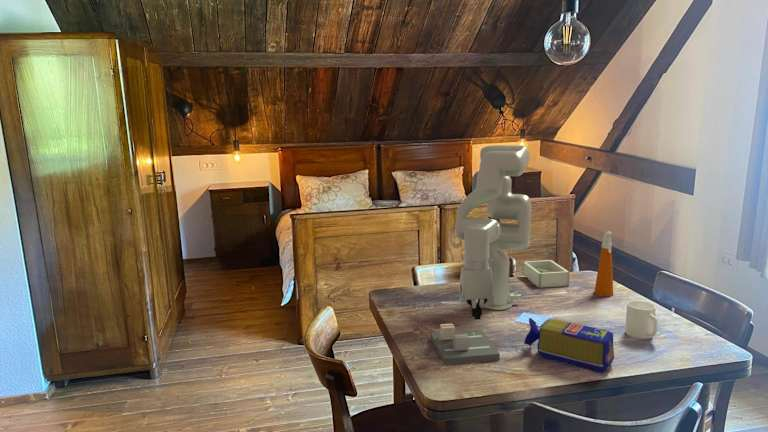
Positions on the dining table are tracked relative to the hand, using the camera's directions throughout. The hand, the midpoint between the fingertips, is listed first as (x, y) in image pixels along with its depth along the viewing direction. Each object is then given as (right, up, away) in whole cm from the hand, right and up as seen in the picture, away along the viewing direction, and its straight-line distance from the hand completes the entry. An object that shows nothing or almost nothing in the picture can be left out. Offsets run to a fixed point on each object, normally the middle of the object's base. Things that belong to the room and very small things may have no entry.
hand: (476, 317), depth 171 cm
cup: (+54, -7, +2) cm, 54 cm away
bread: (+25, -10, -11) cm, 30 cm away
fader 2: (-6, -8, -9) cm, 13 cm away
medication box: (+41, +5, +61) cm, 73 cm away
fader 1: (-9, -6, -1) cm, 11 cm away
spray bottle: (+57, +1, +40) cm, 70 cm away
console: (-5, -9, -4) cm, 11 cm away
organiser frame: (+40, +5, +59) cm, 72 cm away
